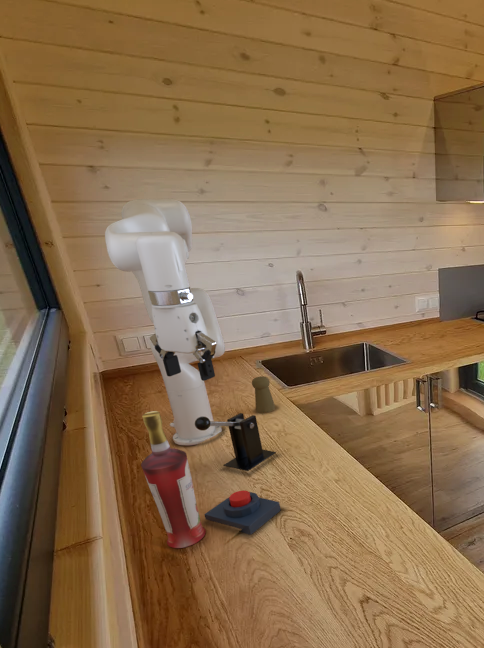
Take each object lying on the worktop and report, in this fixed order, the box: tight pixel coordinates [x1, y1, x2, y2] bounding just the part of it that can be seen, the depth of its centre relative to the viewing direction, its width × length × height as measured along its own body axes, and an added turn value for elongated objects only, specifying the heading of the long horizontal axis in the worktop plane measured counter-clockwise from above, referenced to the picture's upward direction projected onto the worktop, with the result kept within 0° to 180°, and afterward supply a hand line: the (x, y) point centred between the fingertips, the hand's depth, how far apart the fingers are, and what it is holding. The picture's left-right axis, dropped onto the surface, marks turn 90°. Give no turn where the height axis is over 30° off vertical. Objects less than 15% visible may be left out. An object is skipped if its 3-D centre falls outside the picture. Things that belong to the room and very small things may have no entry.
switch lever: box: [195, 416, 245, 431], centre depth 117 cm, size 15×3×3 cm, turn 158°
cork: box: [251, 375, 276, 414], centre depth 156 cm, size 6×6×11 cm
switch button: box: [228, 490, 251, 507], centre depth 103 cm, size 4×4×2 cm
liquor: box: [140, 410, 207, 549], centre depth 92 cm, size 7×7×28 cm
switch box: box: [204, 491, 282, 536], centre depth 104 cm, size 12×9×4 cm
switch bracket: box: [223, 412, 277, 472], centre depth 124 cm, size 10×8×13 cm
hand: (191, 376), depth 106 cm, fingers open, 9 cm apart
